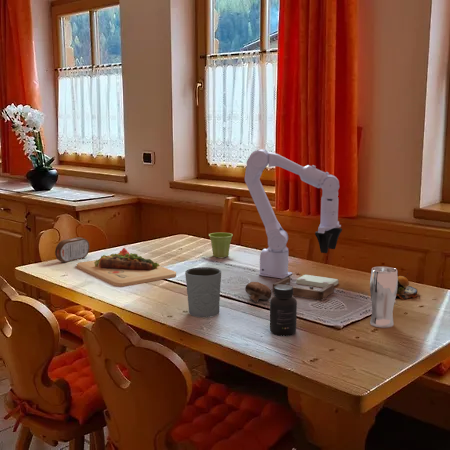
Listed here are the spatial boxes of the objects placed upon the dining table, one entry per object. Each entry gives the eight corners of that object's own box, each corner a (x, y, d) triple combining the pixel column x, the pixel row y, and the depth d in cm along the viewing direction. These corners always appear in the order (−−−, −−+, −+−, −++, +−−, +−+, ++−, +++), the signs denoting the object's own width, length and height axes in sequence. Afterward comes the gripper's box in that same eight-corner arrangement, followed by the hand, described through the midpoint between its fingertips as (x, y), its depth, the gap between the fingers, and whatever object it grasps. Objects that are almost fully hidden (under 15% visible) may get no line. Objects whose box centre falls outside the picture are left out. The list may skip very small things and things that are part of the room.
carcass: (272, 292, 191) (272, 282, 191) (286, 284, 200) (286, 275, 199) (321, 300, 183) (322, 290, 182) (333, 291, 192) (334, 282, 191)
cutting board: (74, 267, 224) (73, 247, 222) (130, 259, 238) (130, 240, 236) (118, 289, 196) (118, 266, 195) (179, 277, 210) (179, 256, 209)
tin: (85, 256, 240) (85, 235, 239) (91, 257, 238) (90, 236, 237) (55, 263, 228) (54, 241, 227) (60, 264, 226) (59, 242, 225)
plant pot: (232, 259, 236) (232, 237, 234) (208, 258, 236) (208, 236, 234) (232, 253, 245) (232, 232, 243) (209, 253, 245) (209, 232, 244)
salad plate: (390, 287, 198) (391, 264, 197) (424, 294, 190) (425, 271, 189) (370, 294, 190) (371, 271, 189) (405, 302, 182) (406, 278, 180)
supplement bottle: (267, 327, 158) (268, 283, 156) (293, 327, 159) (294, 282, 157) (271, 337, 152) (272, 290, 150) (298, 336, 152) (299, 290, 150)
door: (296, 284, 201) (296, 278, 201) (304, 280, 207) (304, 273, 207) (330, 290, 195) (330, 283, 195) (338, 285, 201) (338, 278, 201)
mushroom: (249, 296, 176) (255, 276, 178) (237, 299, 183) (243, 280, 185) (272, 306, 178) (278, 287, 180) (259, 309, 185) (265, 290, 187)
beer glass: (396, 329, 157) (399, 273, 155) (368, 327, 159) (371, 271, 156) (394, 320, 164) (397, 266, 162) (367, 319, 166) (370, 265, 163)
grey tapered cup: (208, 320, 164) (208, 277, 162) (178, 314, 169) (177, 272, 167) (228, 310, 173) (228, 269, 170) (198, 304, 178) (198, 264, 176)
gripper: (333, 215, 197) (331, 256, 199) (348, 209, 209) (346, 248, 211) (312, 213, 200) (311, 253, 202) (328, 208, 212) (327, 246, 215)
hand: (328, 250), depth 207 cm, fingers open, 7 cm apart
